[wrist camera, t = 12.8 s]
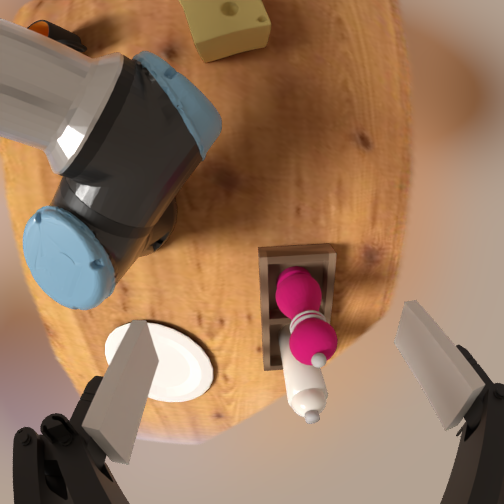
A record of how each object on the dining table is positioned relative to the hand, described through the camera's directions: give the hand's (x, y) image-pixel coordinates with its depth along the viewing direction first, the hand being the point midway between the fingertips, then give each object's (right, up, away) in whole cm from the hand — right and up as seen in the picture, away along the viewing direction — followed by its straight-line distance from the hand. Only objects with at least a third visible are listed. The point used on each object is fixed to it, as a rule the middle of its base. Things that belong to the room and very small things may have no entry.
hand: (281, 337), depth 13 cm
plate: (-22, -20, +44) cm, 53 cm away
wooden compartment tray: (+6, -6, +38) cm, 39 cm away
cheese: (-5, +38, +20) cm, 43 cm away
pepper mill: (+6, -1, +35) cm, 35 cm away
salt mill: (+6, -12, +39) cm, 41 cm away
